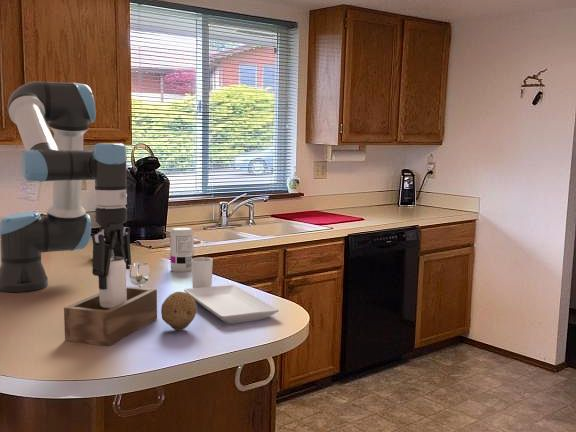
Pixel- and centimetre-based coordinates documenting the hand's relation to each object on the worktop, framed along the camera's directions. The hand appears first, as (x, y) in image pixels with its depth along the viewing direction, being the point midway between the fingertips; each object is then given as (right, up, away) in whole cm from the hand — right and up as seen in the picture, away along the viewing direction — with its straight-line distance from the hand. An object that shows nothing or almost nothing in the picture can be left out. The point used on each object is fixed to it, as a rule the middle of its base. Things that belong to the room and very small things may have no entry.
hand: (113, 297), depth 157 cm
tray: (+27, -6, +21) cm, 35 cm away
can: (0, -2, 0) cm, 2 cm away
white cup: (+17, -3, +41) cm, 44 cm away
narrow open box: (0, -8, +1) cm, 8 cm away
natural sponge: (+16, -9, +1) cm, 18 cm away
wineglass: (+1, -5, +23) cm, 24 cm away
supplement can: (+5, +1, +70) cm, 70 cm away
